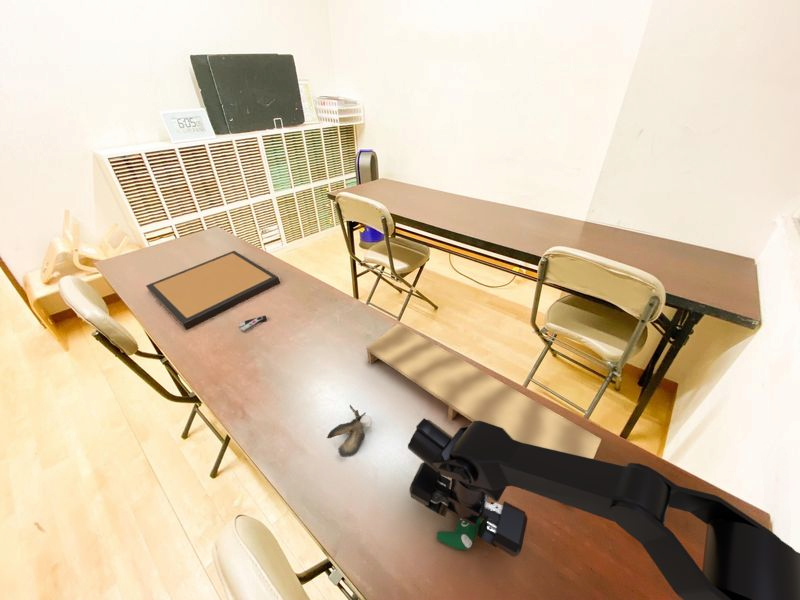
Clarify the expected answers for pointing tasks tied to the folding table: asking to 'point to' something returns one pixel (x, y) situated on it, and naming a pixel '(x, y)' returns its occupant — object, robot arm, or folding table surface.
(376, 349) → the shelf
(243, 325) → the usb flash drive
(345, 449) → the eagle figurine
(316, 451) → the folding table surface
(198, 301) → the cork board
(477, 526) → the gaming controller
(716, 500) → the robot arm
